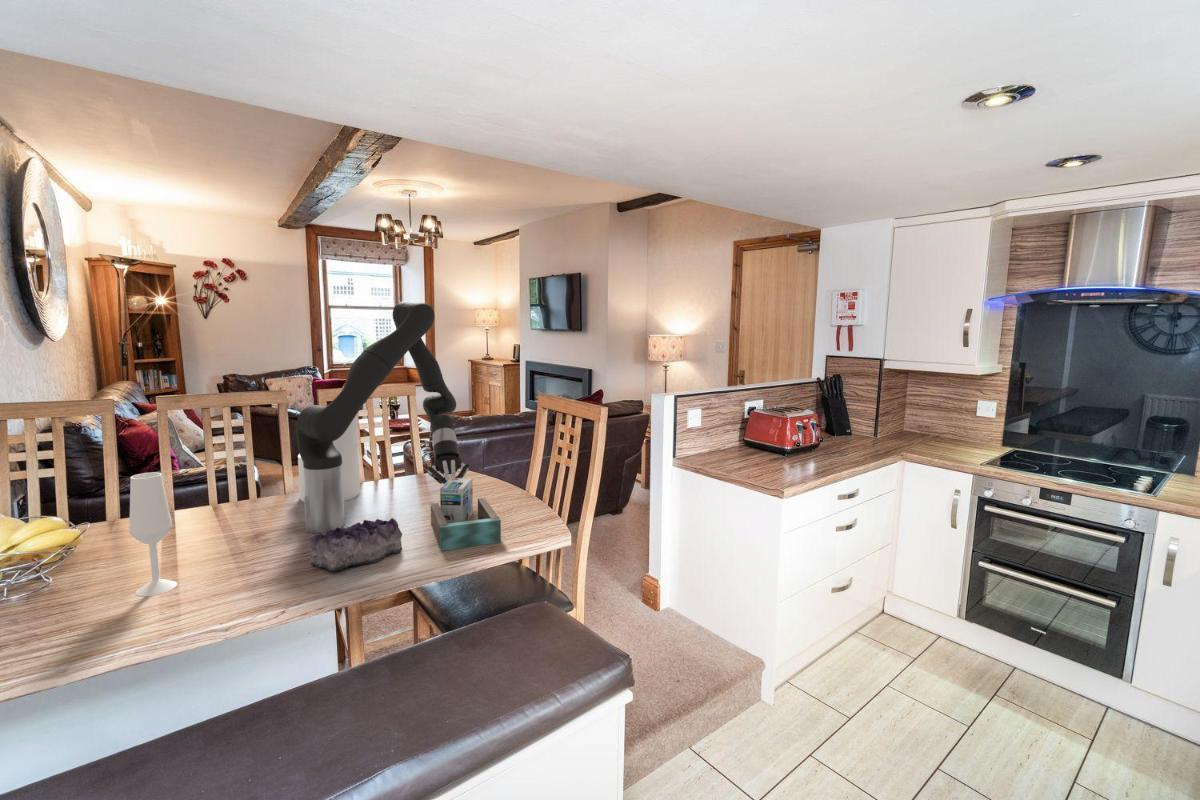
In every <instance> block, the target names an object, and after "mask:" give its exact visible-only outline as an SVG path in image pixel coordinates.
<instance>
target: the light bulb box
mask: <svg viewBox="0 0 1200 800" xmlns="http://www.w3.org/2000/svg"><path fill="white" fill-rule="evenodd" d="M473 481H474V480H473V478H465V477H463V478H450V479H449V480H448V481H447V482H446V483H445V484H443V485H442V486H441V487H440V488H439V494H440V495H439V496H440V497H439V498H440V499H439V501H440V504H439V506H440V508H441V510H442V513H443V515H444V517H445V519H446V522H447V524H449V523H457V522H465V521H469V519H470V517H472V515H473V514H474V508H473V507H474V499H473V498H474V495H473V494H474V493H473V492H474V490H473V484H474V483H473Z"/></svg>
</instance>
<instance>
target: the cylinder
mask: <svg viewBox="0 0 1200 800" xmlns="http://www.w3.org/2000/svg"><path fill="white" fill-rule="evenodd" d="M300 413H301V412H299V413H298V414H300ZM358 426H359V424H358V413H357V414H356V416H355V418H354V419H353V421H352V422H351V424H350V425H349V427H348V428H347V430H346V431H345V432H344V434H343V435H342V436H341V437H340V438H338V439H337V440H335V441H333V445H334V447H335V448H336V449H337V451H339V452H340V454H341V456H342V473H343V496H344V502H346V501H348V500H351V499H354V498H356V497H358V496H359V495H360V494H361V481H360V479H361V478H360V455H359V454H360V453H359V451H360V450H359V449H360V448H359V431H358V428H359V427H358ZM297 465H298V467H297V468H298V483H299V499H300V501H301V502H303V503H304V497H305V486H304V468H303V460H302V459H301V456H300V454H299V453H298V455H297Z"/></svg>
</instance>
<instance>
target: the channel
mask: <svg viewBox="0 0 1200 800" xmlns="http://www.w3.org/2000/svg"><path fill="white" fill-rule="evenodd" d="M501 521H502V519H501V518H500V516H499V515H498V513H497V512H496V511H495V510H494V509H493V507H492V506H491V505H490V503H489V502H488V501H487V499H486V498H485V497H481V498H477V519H475V520H467V521H465V522H457V523H449V524H447V522H446V519H445V517H444V515H443V513H442V510H441V508H440V504H439V502H435V503H430V526H431V528H432V530H433V533H434V536H435V539H436V542H437V544H438V547H439V550H440V551H441V552H442V551H451V550H457V549H463V548H469V547H477V546H483V545H484V546H485V545H492V544H496V543H497V544H498V543H502V538H501V537H502V536H501V535H502V534H501V533H502V528H501V527H502V523H501Z"/></svg>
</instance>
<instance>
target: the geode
mask: <svg viewBox="0 0 1200 800" xmlns="http://www.w3.org/2000/svg"><path fill="white" fill-rule="evenodd" d="M402 536H403V533H402V531H401V529H400V528H399V523H398V521H397V520H396V519H394V518H393V517H391V518H390V519H389V520H388V521H387V520H382V519H379V518H376V519H375V521H372V520H366V519H364V520H362V523H361V522H356V523H354V524H352V525H350V526H346V527H342V528H338V527H337V528H336V529H335V530H328V529H327V530H325V531H324V532H323V533H318V534H316V535H312V536H310V538H309V539H308V547H310V549H311V551H310V557H309V558H310V559H309V560H310V561H309V564H310V565H313V566H315V567H318V568H319V567H320V568H323V569H326V570H327V571H328V572H335V571H340V570H343V569H344V568H349V567H351V566H356V565H357V566H359V565H364V564H372V563H373V564H374V563H377V562H379V561H381V560H382V559H384V557H385V556H387V555H391V554H400V552H401V551H402V550H403V548H402Z"/></svg>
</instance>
